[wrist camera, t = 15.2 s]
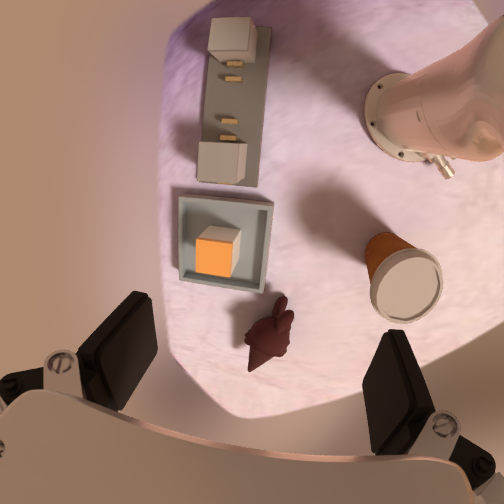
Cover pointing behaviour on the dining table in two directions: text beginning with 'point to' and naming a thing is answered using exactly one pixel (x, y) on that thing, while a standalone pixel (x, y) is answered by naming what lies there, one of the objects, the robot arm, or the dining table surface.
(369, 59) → the dining table surface
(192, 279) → the tray
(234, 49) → the fuse
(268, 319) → the icecream
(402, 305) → the disposable coffee cup
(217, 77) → the fuse panel
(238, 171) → the block
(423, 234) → the dining table surface
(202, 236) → the block
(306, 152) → the dining table surface
